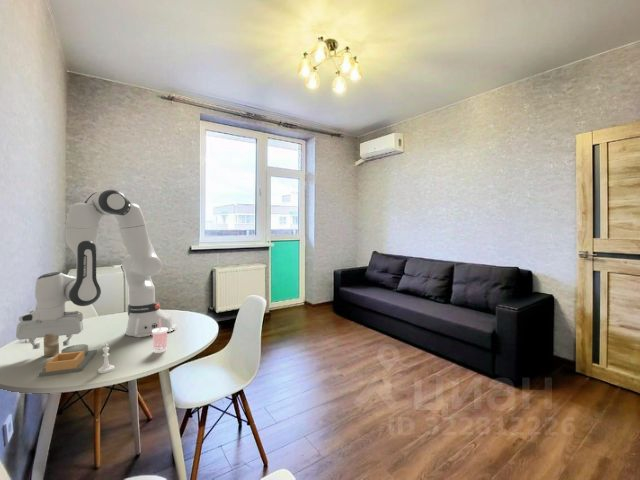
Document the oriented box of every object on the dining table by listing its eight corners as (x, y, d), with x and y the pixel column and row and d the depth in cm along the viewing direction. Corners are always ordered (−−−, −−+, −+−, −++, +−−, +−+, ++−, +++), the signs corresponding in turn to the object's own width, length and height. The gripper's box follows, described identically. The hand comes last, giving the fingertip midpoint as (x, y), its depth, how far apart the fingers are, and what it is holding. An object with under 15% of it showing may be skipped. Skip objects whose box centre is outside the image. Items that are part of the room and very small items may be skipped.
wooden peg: (61, 351, 121) (60, 330, 120) (56, 355, 117) (55, 333, 116) (47, 353, 119) (46, 331, 119) (41, 357, 115) (41, 335, 115)
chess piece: (103, 367, 108) (103, 340, 108) (117, 366, 108) (117, 340, 108) (94, 373, 103) (93, 345, 103) (109, 373, 104) (108, 345, 103)
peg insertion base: (96, 352, 121) (96, 342, 121) (81, 370, 105) (81, 359, 105) (60, 356, 116) (60, 346, 116) (38, 376, 100) (38, 365, 100)
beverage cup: (165, 353, 121) (165, 319, 120) (149, 354, 120) (149, 320, 119) (170, 347, 127) (170, 315, 126) (155, 348, 126) (155, 316, 125)
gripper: (85, 308, 124) (85, 340, 125) (22, 313, 116) (23, 347, 117) (79, 312, 118) (80, 346, 119) (13, 317, 110) (14, 353, 111)
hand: (51, 346), depth 118 cm, fingers open, 8 cm apart
